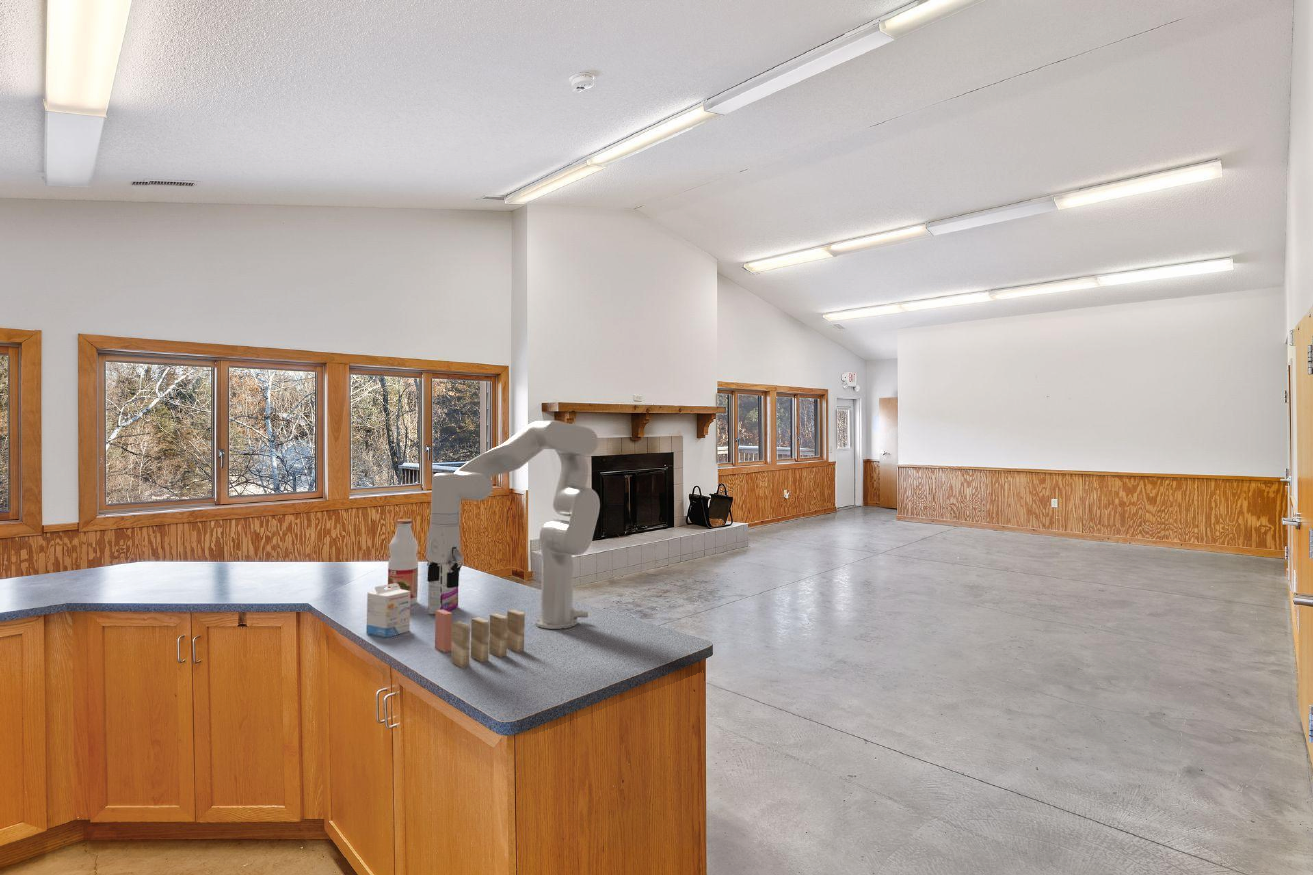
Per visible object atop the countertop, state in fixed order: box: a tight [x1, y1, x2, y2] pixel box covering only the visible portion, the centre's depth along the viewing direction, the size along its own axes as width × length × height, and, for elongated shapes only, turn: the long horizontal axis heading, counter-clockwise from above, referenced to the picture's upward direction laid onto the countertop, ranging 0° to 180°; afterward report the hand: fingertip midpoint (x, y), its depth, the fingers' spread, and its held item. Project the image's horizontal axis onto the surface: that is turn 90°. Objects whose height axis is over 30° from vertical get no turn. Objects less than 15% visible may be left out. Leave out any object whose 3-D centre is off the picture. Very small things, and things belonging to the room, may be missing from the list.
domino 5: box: [506, 609, 526, 653], centre depth 180 cm, size 2×5×10 cm, turn 47°
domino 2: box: [450, 620, 471, 668], centre depth 168 cm, size 2×5×10 cm, turn 47°
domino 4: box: [488, 613, 508, 658], centre depth 176 cm, size 2×5×10 cm, turn 47°
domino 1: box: [434, 609, 453, 653], centre depth 179 cm, size 2×5×10 cm, turn 47°
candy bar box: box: [427, 564, 459, 616], centre depth 217 cm, size 11×5×16 cm, turn 168°
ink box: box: [365, 583, 411, 639], centre depth 193 cm, size 9×8×13 cm
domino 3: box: [470, 616, 490, 663], centre depth 172 cm, size 2×5×10 cm, turn 47°
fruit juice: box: [387, 518, 419, 606], centre depth 225 cm, size 9×9×28 cm
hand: (442, 584), depth 178 cm, fingers open, 9 cm apart
